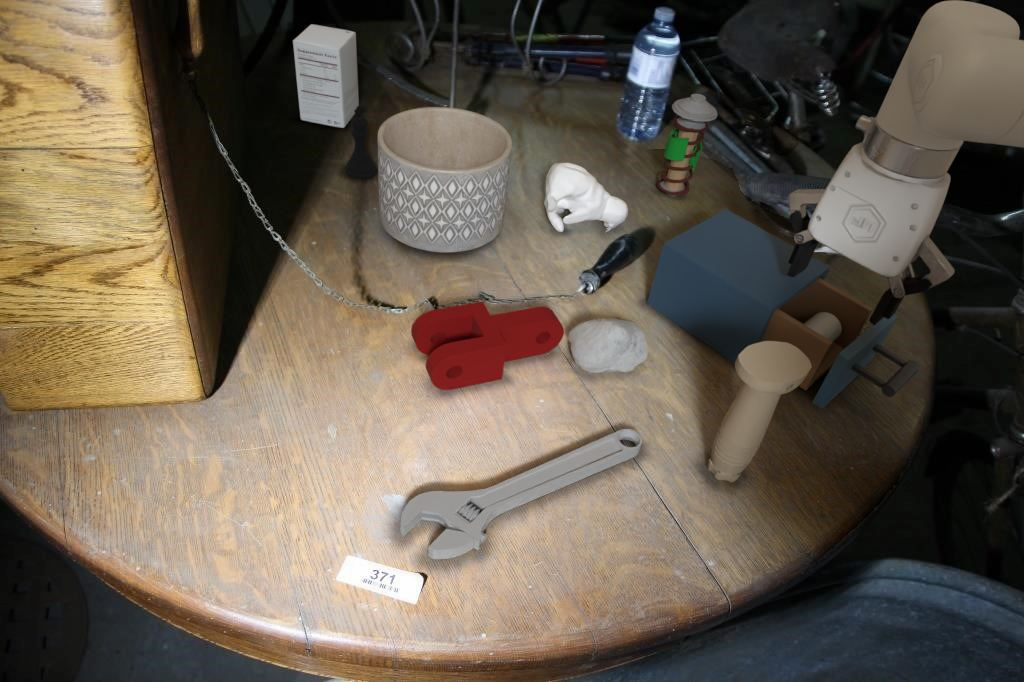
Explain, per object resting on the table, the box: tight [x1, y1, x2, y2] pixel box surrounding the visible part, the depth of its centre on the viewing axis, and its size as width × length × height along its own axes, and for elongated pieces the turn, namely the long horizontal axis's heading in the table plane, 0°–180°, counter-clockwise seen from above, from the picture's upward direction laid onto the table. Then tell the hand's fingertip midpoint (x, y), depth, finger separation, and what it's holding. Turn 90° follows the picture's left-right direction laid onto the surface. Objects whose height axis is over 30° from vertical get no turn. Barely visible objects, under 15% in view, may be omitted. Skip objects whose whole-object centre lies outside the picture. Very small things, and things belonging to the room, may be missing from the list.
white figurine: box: [543, 162, 629, 233], centre depth 101 cm, size 6×8×12 cm
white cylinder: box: [804, 312, 842, 342], centre depth 85 cm, size 7×4×4 cm, turn 133°
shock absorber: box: [656, 93, 719, 197], centre depth 108 cm, size 6×6×15 cm
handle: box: [707, 341, 812, 483], centre depth 69 cm, size 5×6×15 cm
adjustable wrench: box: [399, 428, 643, 560], centre depth 69 cm, size 25×6×2 cm, turn 117°
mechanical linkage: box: [410, 301, 565, 391], centre depth 81 cm, size 16×7×5 cm, turn 112°
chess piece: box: [344, 105, 378, 180], centre depth 105 cm, size 4×4×10 cm
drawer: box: [761, 278, 921, 410], centre depth 83 cm, size 18×11×7 cm, turn 43°
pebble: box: [567, 317, 649, 374], centre depth 83 cm, size 9×8×5 cm
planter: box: [377, 106, 513, 254], centre depth 96 cm, size 16×16×13 cm
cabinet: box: [646, 208, 831, 364], centre depth 89 cm, size 15×13×9 cm
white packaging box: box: [292, 23, 360, 129], centre depth 116 cm, size 7×7×13 cm
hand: (835, 294), depth 80 cm, fingers open, 9 cm apart
